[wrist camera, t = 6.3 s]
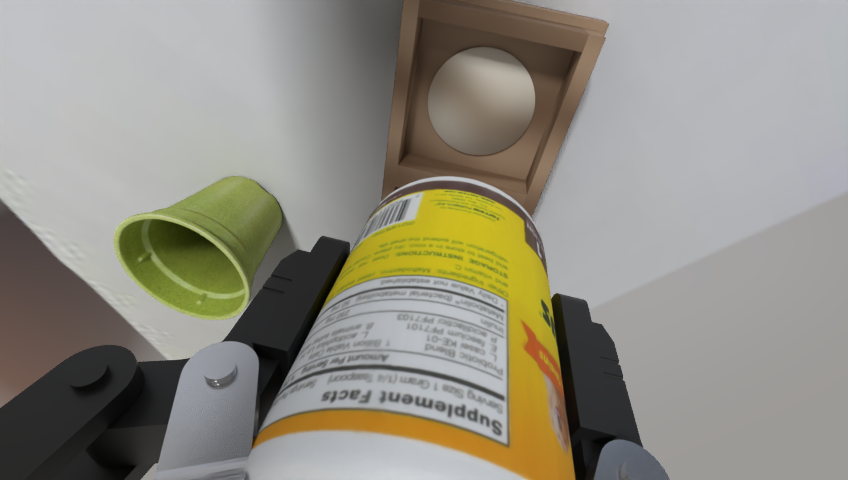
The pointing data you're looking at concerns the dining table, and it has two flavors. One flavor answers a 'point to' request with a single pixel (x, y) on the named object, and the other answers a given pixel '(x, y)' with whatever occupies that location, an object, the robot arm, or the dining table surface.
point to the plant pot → (201, 248)
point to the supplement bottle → (428, 352)
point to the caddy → (486, 92)
